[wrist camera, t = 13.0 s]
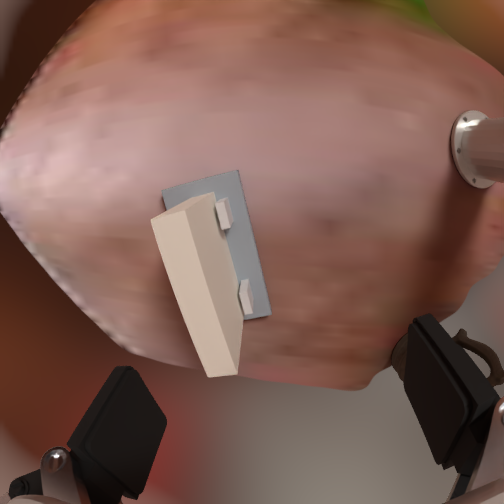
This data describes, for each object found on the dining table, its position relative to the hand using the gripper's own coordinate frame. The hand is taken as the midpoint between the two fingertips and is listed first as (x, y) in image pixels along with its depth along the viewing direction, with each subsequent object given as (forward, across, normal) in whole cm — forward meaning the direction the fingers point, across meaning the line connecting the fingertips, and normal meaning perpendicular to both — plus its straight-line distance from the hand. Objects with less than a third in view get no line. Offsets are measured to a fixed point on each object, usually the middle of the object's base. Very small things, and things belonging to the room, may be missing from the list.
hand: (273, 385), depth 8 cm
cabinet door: (+28, +8, +4) cm, 29 cm away
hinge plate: (+29, +8, +4) cm, 31 cm away
